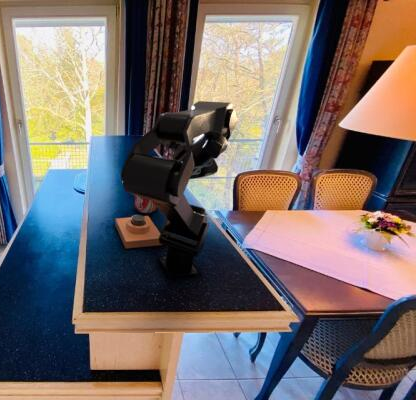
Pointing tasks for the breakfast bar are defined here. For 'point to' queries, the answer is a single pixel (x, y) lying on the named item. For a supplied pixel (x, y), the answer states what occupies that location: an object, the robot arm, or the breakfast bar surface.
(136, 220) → the lid button
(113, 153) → the breakfast bar surface
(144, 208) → the soda can
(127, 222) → the button base
